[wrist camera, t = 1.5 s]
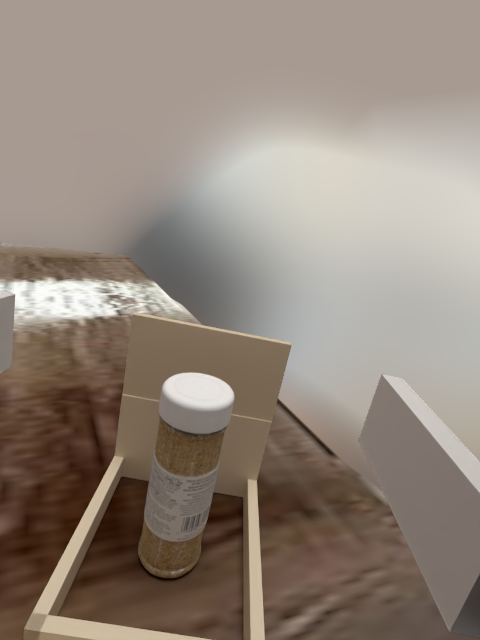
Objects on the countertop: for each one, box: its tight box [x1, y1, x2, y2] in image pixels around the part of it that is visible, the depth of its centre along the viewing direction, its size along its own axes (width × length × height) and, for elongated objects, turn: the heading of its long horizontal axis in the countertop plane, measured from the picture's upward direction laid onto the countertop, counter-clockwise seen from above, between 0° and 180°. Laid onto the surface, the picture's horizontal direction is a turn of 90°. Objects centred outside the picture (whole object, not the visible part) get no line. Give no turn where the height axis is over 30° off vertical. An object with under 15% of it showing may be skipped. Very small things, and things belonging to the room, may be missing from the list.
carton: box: [23, 312, 291, 640], centre depth 22 cm, size 21×13×15 cm, turn 179°
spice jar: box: [138, 373, 234, 578], centre depth 25 cm, size 5×5×13 cm
